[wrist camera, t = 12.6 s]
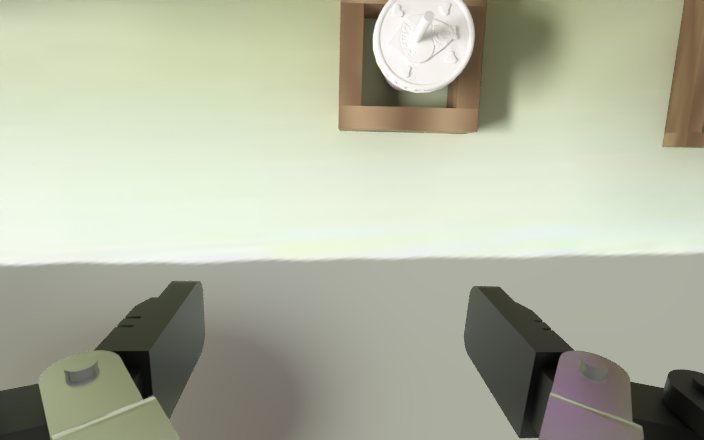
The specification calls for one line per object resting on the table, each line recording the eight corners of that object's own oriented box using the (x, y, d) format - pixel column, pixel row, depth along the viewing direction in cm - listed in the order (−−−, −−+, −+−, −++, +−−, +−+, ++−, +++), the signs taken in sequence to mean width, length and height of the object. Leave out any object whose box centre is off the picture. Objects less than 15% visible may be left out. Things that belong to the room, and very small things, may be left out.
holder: (339, 130, 36) (338, 128, 32) (342, -3, 34) (341, -23, 30) (463, 133, 36) (476, 131, 32) (472, 1, 34) (488, -19, 30)
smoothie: (361, 35, 34) (368, -43, 20) (436, 22, 34) (495, -66, 20) (373, 113, 35) (387, 88, 21) (446, 100, 35) (508, 67, 21)
